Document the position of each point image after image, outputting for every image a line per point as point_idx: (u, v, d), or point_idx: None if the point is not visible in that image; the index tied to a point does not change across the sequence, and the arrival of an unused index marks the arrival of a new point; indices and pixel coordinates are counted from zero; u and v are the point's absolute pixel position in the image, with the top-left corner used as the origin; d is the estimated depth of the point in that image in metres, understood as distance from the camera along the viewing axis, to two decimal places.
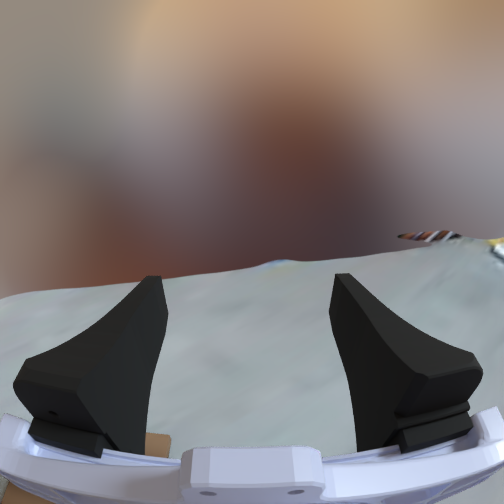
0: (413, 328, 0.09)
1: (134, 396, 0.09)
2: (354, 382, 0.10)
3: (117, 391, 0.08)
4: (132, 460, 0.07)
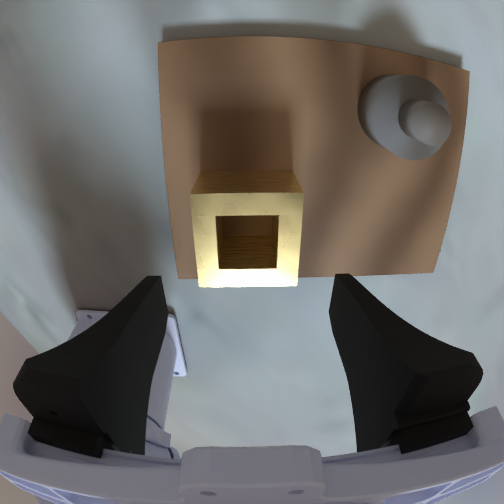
0: (413, 328, 0.09)
1: (134, 396, 0.09)
2: (354, 382, 0.10)
3: (117, 391, 0.08)
4: (132, 460, 0.07)
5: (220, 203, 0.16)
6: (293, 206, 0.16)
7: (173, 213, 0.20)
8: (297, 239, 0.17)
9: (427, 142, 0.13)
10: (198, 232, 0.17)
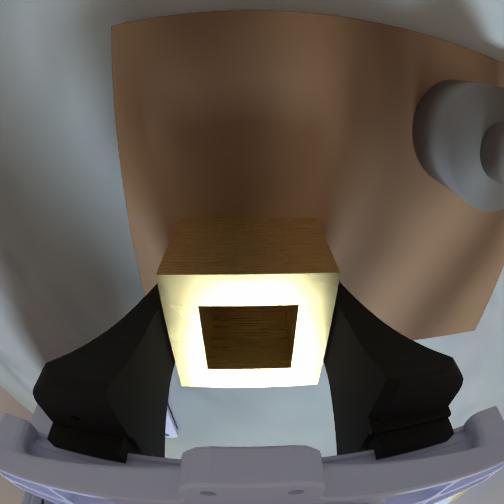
0: (392, 330, 0.09)
1: (155, 398, 0.09)
2: (334, 384, 0.10)
3: (141, 394, 0.08)
4: (132, 460, 0.07)
5: (205, 289, 0.10)
6: (322, 292, 0.10)
7: (144, 274, 0.14)
8: (324, 334, 0.11)
9: None
10: (173, 326, 0.11)
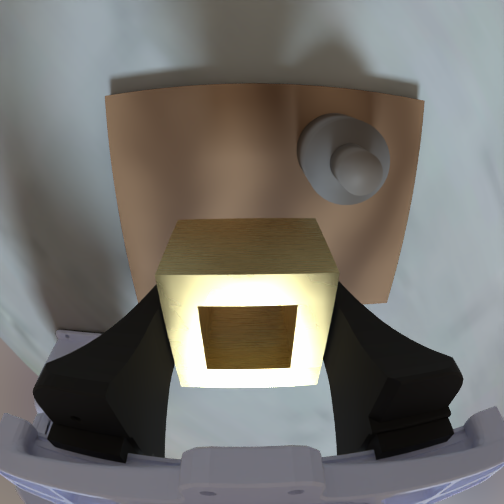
0: (392, 330, 0.09)
1: (155, 398, 0.09)
2: (334, 384, 0.10)
3: (141, 394, 0.08)
4: (132, 460, 0.07)
5: (204, 289, 0.10)
6: (321, 292, 0.10)
7: (129, 252, 0.22)
8: (323, 334, 0.11)
9: (353, 192, 0.15)
10: (173, 326, 0.11)
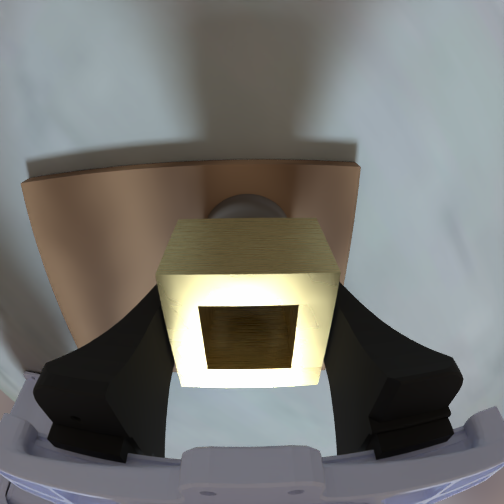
0: (392, 330, 0.09)
1: (155, 398, 0.09)
2: (334, 384, 0.10)
3: (141, 394, 0.08)
4: (132, 460, 0.07)
5: (205, 289, 0.10)
6: (322, 292, 0.10)
7: (67, 320, 0.21)
8: (324, 334, 0.11)
9: (241, 306, 0.14)
10: (173, 326, 0.11)
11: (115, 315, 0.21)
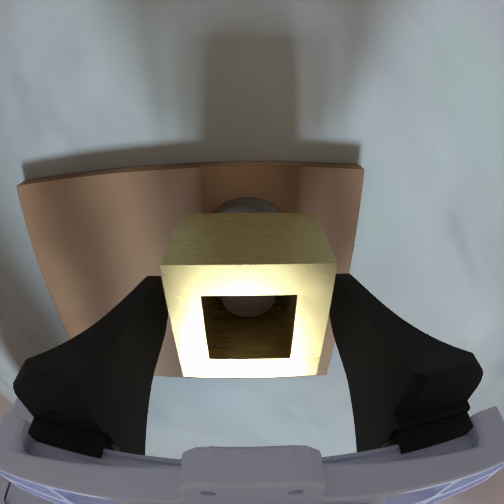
0: (413, 328, 0.09)
1: (134, 396, 0.09)
2: (354, 382, 0.10)
3: (117, 391, 0.08)
4: (132, 460, 0.07)
5: (207, 279, 0.10)
6: (320, 282, 0.10)
7: (65, 324, 0.21)
8: (322, 324, 0.11)
9: (241, 314, 0.14)
10: (176, 316, 0.11)
11: None
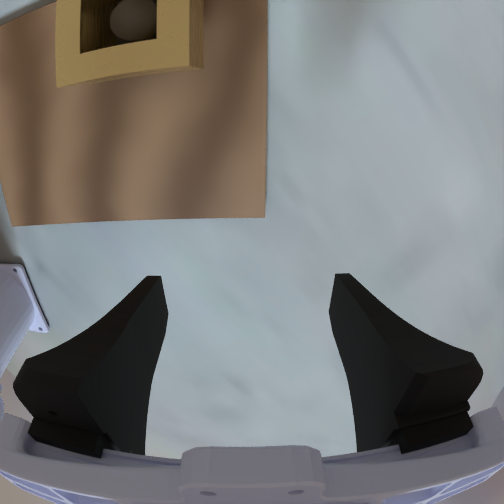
0: (413, 328, 0.09)
1: (134, 396, 0.09)
2: (354, 382, 0.10)
3: (117, 391, 0.08)
4: (132, 460, 0.07)
5: None
6: None
7: None
8: None
9: (126, 37, 0.11)
10: (61, 10, 0.08)
11: (39, 145, 0.17)
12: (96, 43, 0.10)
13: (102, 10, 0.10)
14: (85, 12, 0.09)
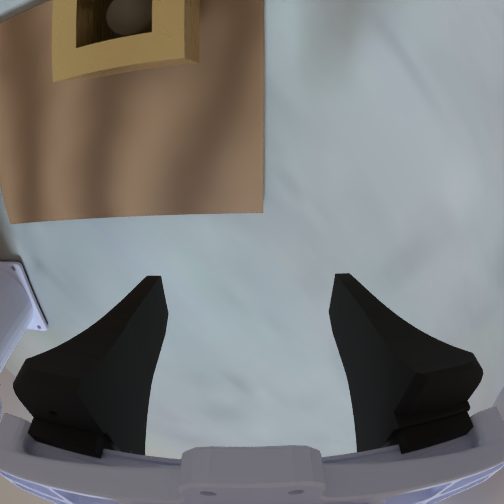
0: (413, 328, 0.09)
1: (134, 396, 0.09)
2: (354, 382, 0.10)
3: (117, 391, 0.08)
4: (132, 460, 0.07)
5: None
6: None
7: None
8: None
9: (122, 31, 0.10)
10: (57, 5, 0.08)
11: (37, 142, 0.17)
12: (92, 38, 0.10)
13: (99, 5, 0.10)
14: (81, 7, 0.09)
